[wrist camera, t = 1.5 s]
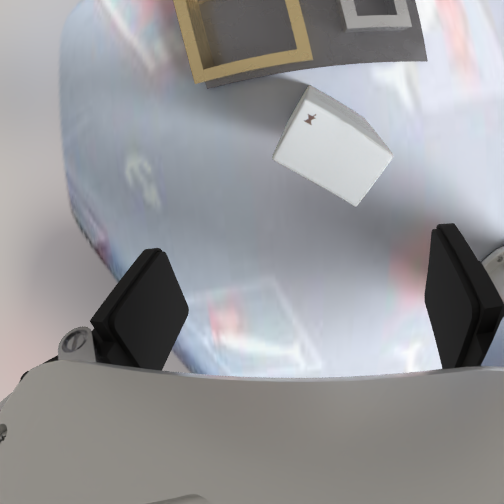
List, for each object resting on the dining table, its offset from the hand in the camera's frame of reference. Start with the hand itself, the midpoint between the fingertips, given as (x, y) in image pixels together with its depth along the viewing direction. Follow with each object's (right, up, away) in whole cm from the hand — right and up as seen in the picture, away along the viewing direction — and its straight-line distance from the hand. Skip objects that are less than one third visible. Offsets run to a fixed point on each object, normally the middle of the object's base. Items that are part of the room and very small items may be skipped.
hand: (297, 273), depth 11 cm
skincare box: (+5, +13, +16) cm, 21 cm away
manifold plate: (+3, +21, +11) cm, 24 cm away
